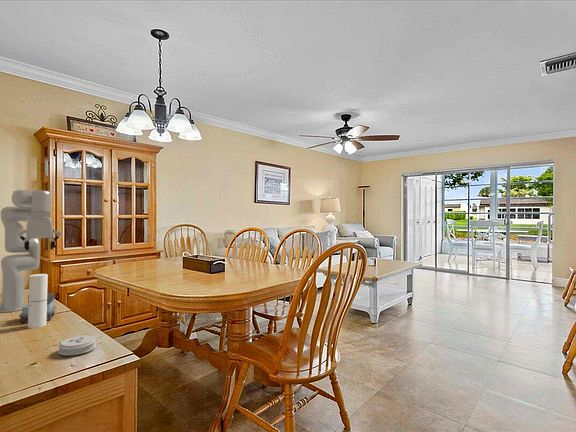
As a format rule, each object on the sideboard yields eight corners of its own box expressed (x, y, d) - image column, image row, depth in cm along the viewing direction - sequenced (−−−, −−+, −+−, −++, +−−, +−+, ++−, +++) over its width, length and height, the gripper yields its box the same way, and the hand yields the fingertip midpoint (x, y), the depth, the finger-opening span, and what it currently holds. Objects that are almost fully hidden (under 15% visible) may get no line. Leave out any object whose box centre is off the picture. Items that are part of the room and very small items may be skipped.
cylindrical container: (38, 328, 152) (40, 276, 153) (23, 327, 152) (25, 276, 153) (49, 323, 159) (51, 273, 160) (36, 323, 160) (37, 273, 160)
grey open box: (25, 317, 168) (26, 295, 169) (55, 314, 174) (56, 292, 175) (19, 323, 158) (19, 300, 158) (51, 320, 164) (51, 297, 164)
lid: (99, 343, 135) (99, 331, 135) (91, 355, 123) (92, 342, 123) (64, 347, 130) (64, 334, 131) (52, 359, 119) (53, 346, 119)
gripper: (16, 214, 150) (15, 250, 149) (60, 215, 158) (59, 249, 157) (20, 215, 157) (19, 249, 156) (63, 215, 165) (62, 248, 164)
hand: (39, 249), depth 157 cm, fingers open, 9 cm apart
